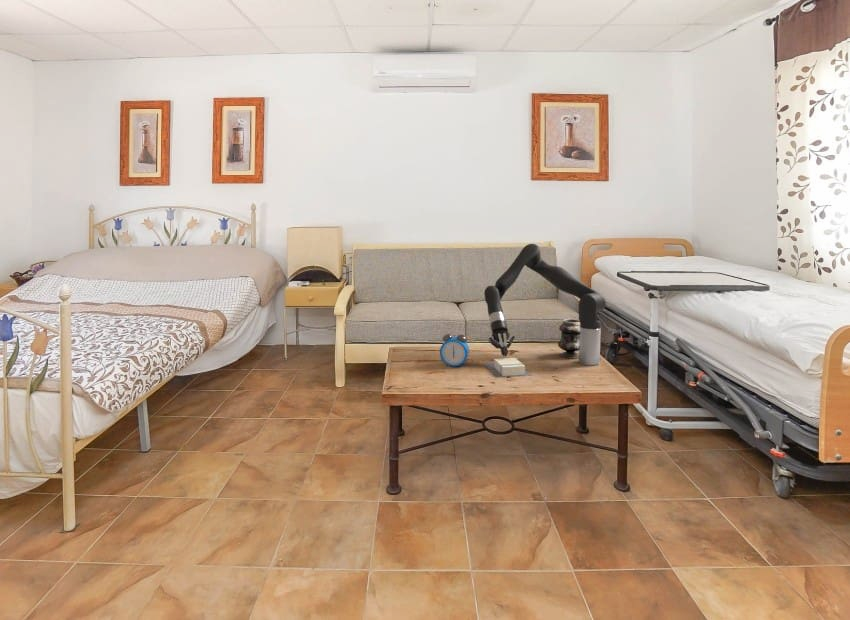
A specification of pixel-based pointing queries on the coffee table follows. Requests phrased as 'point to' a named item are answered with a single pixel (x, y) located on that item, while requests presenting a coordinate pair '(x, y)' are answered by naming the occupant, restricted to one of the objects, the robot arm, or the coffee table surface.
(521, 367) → the box
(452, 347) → the alarm clock
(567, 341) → the apothecary jar
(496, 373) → the mat
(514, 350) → the coffee table surface
